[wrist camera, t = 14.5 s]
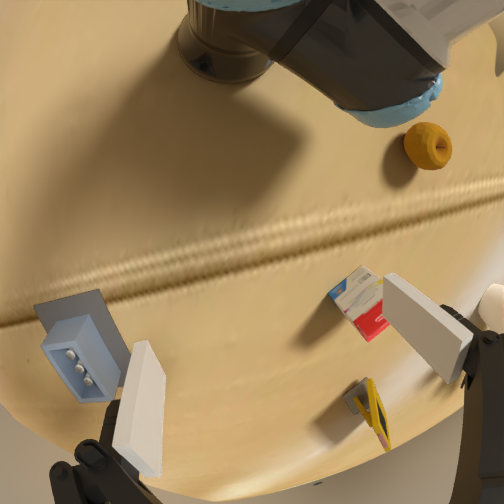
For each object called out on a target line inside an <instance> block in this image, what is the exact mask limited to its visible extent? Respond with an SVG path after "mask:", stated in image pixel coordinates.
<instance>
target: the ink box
mask: <svg viewBox="0 0 504 504" xmlns="http://www.w3.org/2000/svg"><path fill="white" fill-rule="evenodd" d="M328 294H329V296H330V297H331V298H332V300H333V301H334V302H335V304H336V305H337V306H338V308H339V309H340V310H341V312H342V313H343V314H344V315H345V316H346V317H347V319H348V320H349V321H350V322H351V323H352V324H353V326H354V327H355V328H356V329H357V330H358V331H359V333H360V334H361V335H362V336H363V337H364V338H365V340H366V341H367V342H369V341H371V340H372V339H373V338H374V337H375V336H377V335H378V334H379V333H380V332H381V331H383V330H384V329H385V328H386V327H387V326H389V325H390V323H389V322H388V321H387V320H386V319H385V318H384V317H383V316H382V305H383V280H382V279H381V278H379V277H378V276H377V275H376V274H374V273H373V272H372V271H370V270H369V269H368V268H366V267H365V266H363V265H361V266H360V267H359V268H358V269H357V270H356V271H354V272H353V273H352V274H351V275H350V276H348V277H347V278H346V279H345V280H343V281H342V282H341V283H340V284H339V285H337V286H336V287H335V288H334V289H332V290H331V291H330V292H329V293H328Z"/></svg>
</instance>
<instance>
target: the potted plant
mask: <svg viewBox="0 0 504 504" xmlns="http://www.w3.org/2000/svg"><path fill="white" fill-rule="evenodd" d="M478 314H479V315H480V317H481V318H482V319H483V321H484V322H485V323H486V324H487V326H488V327H489V328H490V330H491V331H494V332H496V333H498V334H502V333H504V286H503V285H499V284H495V283H494V284H492V285H491V286H489V287H488V289H487V290H486V291H485V293H484V295H483V296H482V299H481V301H480V304H479V308H478Z"/></svg>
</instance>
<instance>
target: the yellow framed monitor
mask: <svg viewBox="0 0 504 504" xmlns="http://www.w3.org/2000/svg"><path fill="white" fill-rule="evenodd" d="M343 398H344V399H345V401H346V402H347V404H348V406H349V407H350V409H351V411H352V412H353V414H354V415H355V414H357V413H359V412H361V413H362V415H363V416H364V418H365V420H366V421H367V423H368V425H369V426H370V427H373V429H374V431H375V432H376V434H377V436H378V438H379V440H380V442H381V444H382V446H383V448H384V449H385V451H386V452H387V451H391V444H390V437H389V430H388V424H387V418H386V412H385V409H384V407H383V404H382V402H381V399H380V397H379V394H378V392H377V390H376V387H375V385H374V382H373V380H372V379H368V378H367V377H366V378H365V379H363V380H362V381H361V382H360V383H358V384H357V385H356V386H355V387H353V388H352V389H351V390H350V391H348V392H347V393H346V394H344V395H343ZM369 407H370V413H368V412H366V410H365V409H367V408H369Z"/></svg>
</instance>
